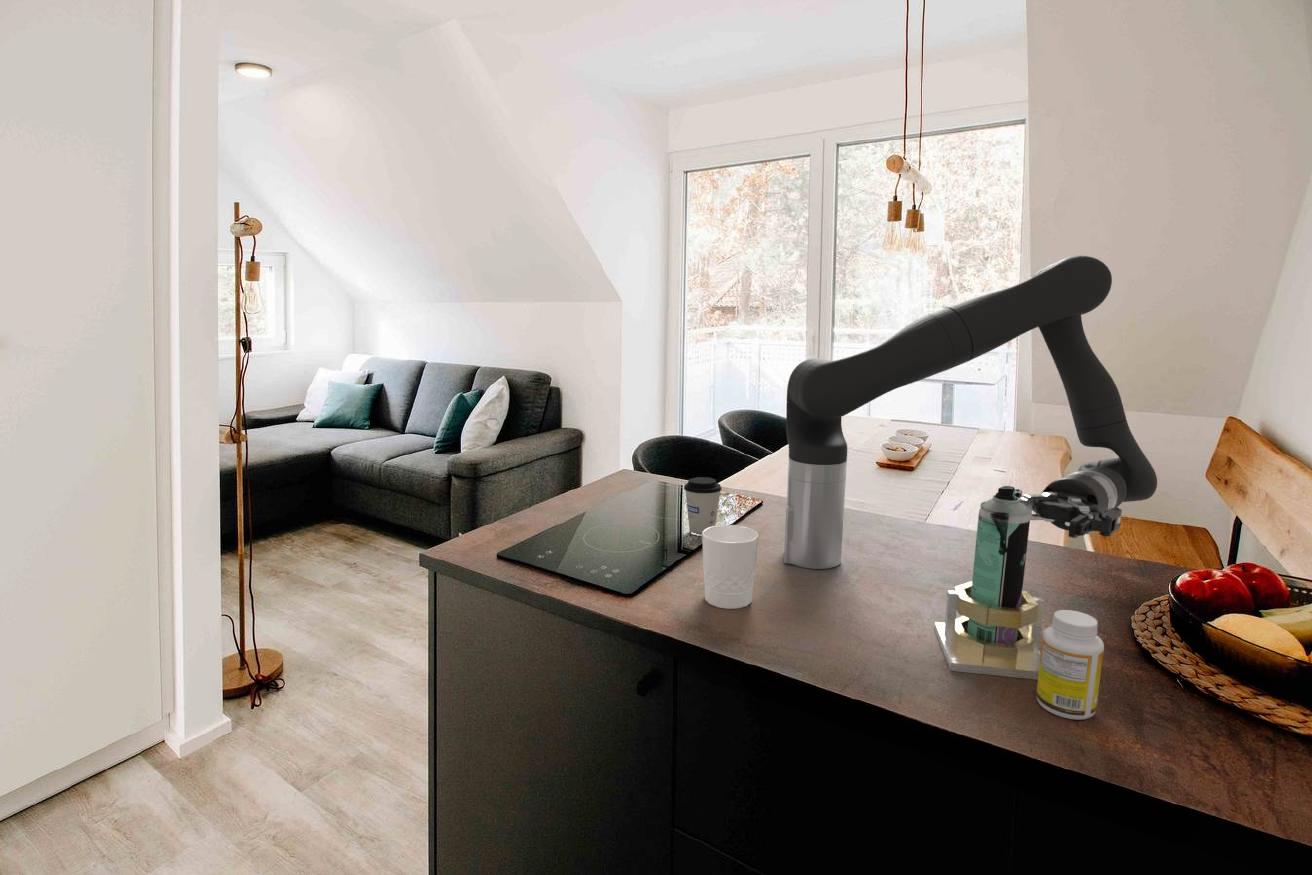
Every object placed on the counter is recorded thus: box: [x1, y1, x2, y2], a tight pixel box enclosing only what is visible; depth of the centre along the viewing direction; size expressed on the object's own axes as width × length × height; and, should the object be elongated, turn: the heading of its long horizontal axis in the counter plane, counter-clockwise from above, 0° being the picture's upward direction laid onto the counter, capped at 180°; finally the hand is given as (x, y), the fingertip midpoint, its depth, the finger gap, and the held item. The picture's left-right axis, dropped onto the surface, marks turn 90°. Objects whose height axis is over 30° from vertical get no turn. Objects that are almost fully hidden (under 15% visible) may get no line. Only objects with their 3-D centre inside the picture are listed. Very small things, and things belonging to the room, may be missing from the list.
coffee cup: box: [683, 476, 722, 534], centre depth 131 cm, size 7×7×10 cm
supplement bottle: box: [1035, 609, 1105, 721], centre depth 74 cm, size 6×6×10 cm
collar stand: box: [933, 580, 1045, 681], centre depth 86 cm, size 11×11×8 cm
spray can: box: [967, 485, 1031, 644], centre depth 85 cm, size 6×6×20 cm
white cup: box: [701, 524, 759, 610], centre depth 101 cm, size 8×8×10 cm
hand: (1036, 521), depth 91 cm, fingers open, 8 cm apart
